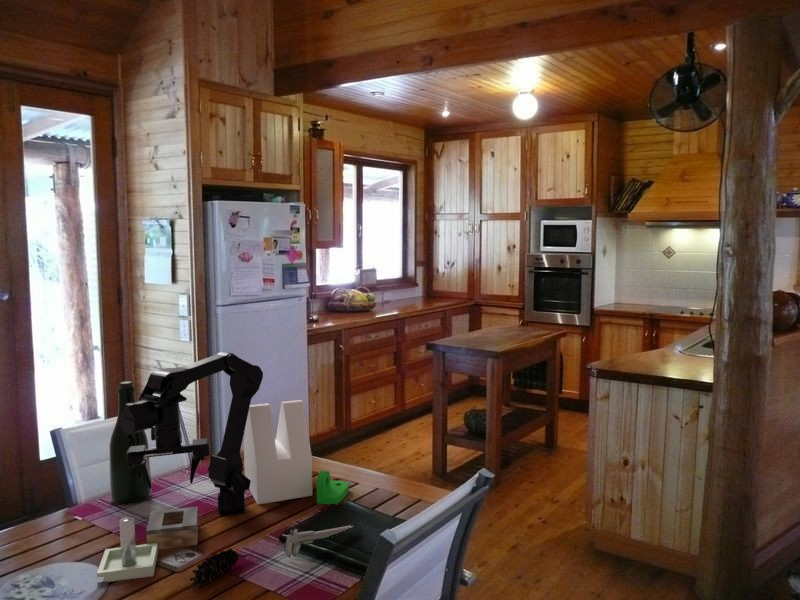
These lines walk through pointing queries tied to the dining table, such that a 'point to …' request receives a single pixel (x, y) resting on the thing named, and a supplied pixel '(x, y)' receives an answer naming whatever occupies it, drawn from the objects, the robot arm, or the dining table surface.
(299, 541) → the caliper
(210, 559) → the pine cone
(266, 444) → the white notched block
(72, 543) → the dining table surface
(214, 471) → the robot arm
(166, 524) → the block
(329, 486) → the mechanical part
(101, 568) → the tray
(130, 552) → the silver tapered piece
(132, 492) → the dark green wine bottle
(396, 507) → the dining table surface
